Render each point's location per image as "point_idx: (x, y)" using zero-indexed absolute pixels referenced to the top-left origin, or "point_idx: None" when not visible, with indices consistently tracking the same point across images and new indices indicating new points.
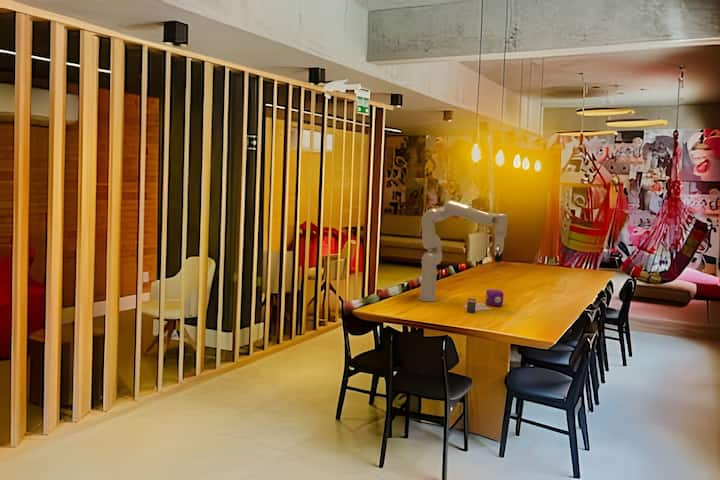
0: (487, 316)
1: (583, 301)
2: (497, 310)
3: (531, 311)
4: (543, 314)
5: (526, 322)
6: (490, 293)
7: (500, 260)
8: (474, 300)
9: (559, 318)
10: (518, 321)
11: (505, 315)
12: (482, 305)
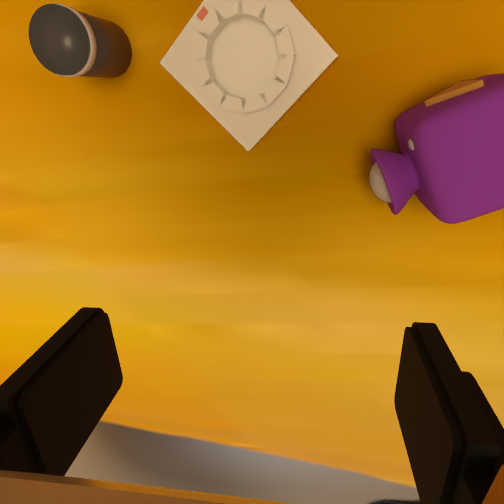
0: (76, 159)
1: None
2: (269, 185)
3: (348, 337)
4: (304, 379)
5: None
6: (414, 127)
7: (396, 389)
8: (47, 67)
9: (257, 424)
10: (82, 293)
11: (165, 236)
12: (214, 101)
